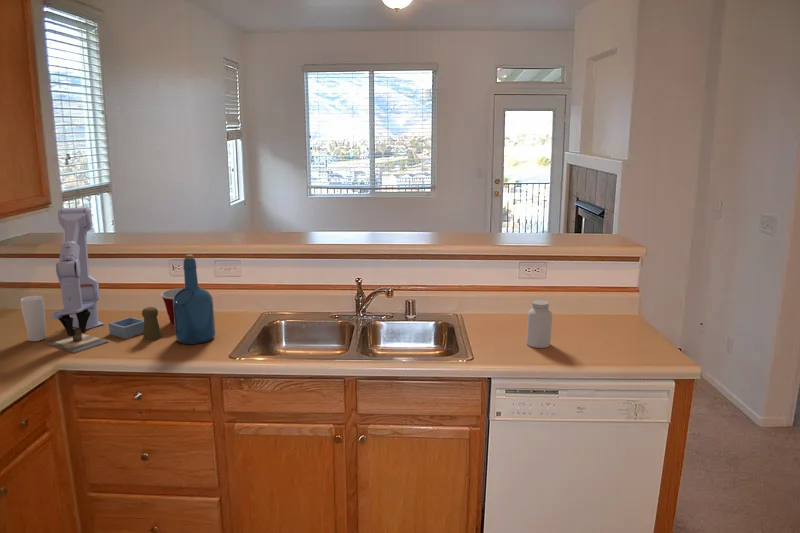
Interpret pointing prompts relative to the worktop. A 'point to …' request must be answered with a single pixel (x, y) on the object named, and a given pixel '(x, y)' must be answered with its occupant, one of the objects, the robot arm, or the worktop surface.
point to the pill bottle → (539, 325)
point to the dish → (127, 327)
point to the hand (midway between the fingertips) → (76, 334)
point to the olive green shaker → (151, 324)
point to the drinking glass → (34, 317)
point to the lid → (77, 340)
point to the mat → (79, 347)
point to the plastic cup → (170, 302)
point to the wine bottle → (193, 309)
